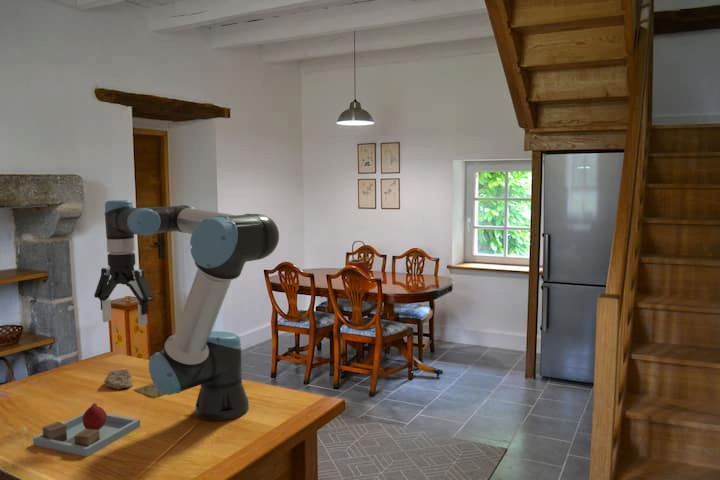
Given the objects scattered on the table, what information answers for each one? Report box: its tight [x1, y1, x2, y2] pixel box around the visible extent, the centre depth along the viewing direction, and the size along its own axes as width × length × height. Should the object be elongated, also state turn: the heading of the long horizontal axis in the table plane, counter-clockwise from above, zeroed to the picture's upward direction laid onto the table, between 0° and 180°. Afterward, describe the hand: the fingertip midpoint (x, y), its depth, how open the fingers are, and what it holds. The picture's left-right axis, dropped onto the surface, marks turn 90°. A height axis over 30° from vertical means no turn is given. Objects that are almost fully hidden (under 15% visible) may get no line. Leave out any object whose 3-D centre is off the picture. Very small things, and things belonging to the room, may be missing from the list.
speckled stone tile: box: [133, 382, 166, 400], centre depth 185 cm, size 12×12×1 cm
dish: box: [32, 412, 141, 458], centre depth 150 cm, size 18×18×2 cm
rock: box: [103, 368, 133, 390], centre depth 188 cm, size 9×6×10 cm
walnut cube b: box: [42, 421, 67, 442], centre depth 147 cm, size 4×4×4 cm
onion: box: [82, 402, 107, 430], centre depth 152 cm, size 6×6×8 cm
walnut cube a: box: [74, 429, 100, 447], centre depth 143 cm, size 4×4×4 cm
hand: (125, 323), depth 170 cm, fingers open, 13 cm apart
